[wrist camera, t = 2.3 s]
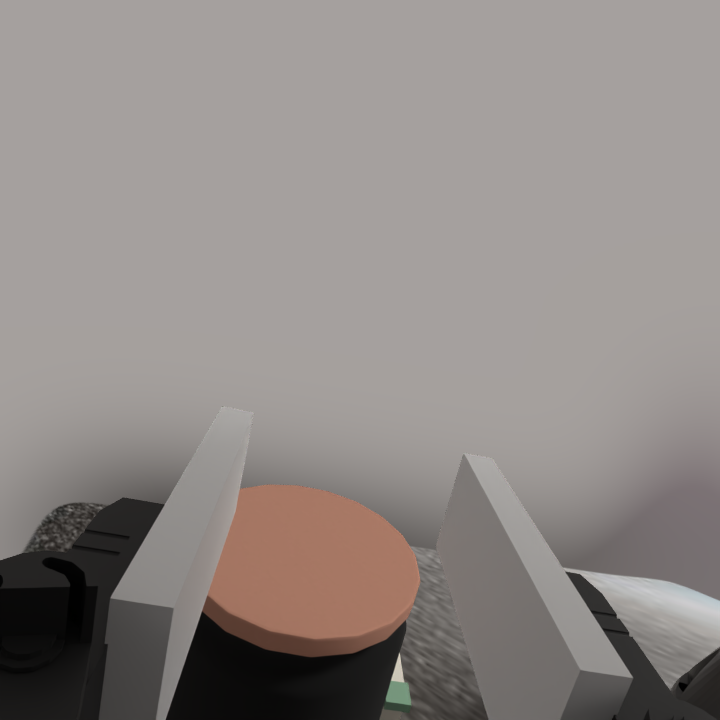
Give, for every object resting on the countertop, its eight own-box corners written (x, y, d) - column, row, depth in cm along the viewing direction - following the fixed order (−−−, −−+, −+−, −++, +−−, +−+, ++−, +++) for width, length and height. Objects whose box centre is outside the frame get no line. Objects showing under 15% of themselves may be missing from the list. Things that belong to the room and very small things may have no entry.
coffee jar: (190, 716, 34) (235, 464, 29) (351, 767, 33) (423, 516, 28) (82, 926, 23) (127, 588, 19) (313, 1009, 23) (417, 675, 18)
